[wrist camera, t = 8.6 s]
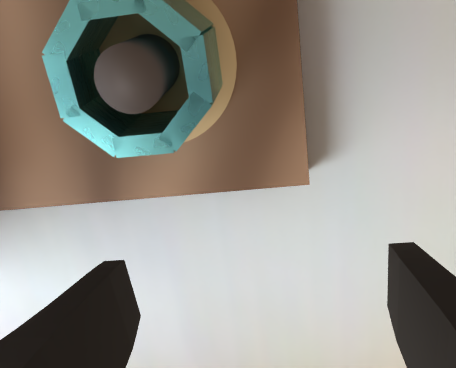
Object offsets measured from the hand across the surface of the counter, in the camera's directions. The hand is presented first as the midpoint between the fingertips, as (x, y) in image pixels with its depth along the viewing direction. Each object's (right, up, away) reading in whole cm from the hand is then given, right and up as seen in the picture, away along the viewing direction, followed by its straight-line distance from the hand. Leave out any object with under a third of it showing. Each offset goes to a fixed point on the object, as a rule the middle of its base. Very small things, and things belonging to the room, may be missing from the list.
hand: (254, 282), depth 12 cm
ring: (-4, +8, +5) cm, 10 cm away
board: (-7, +8, +7) cm, 13 cm away
